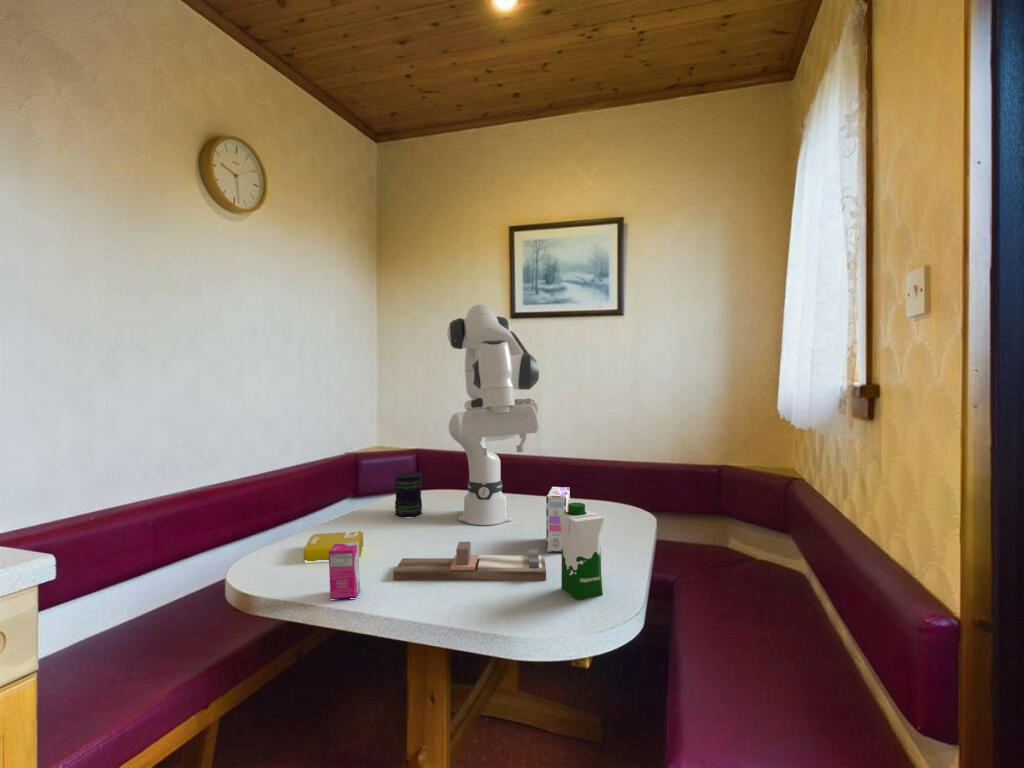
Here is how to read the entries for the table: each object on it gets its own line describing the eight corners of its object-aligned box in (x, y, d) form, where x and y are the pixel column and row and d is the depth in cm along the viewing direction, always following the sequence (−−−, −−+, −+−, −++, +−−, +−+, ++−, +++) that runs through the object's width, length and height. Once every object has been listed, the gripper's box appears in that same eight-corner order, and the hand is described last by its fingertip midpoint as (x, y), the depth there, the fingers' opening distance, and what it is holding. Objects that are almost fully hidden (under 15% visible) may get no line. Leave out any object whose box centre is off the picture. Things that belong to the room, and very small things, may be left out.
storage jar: (419, 518, 188) (418, 476, 188) (392, 518, 188) (391, 477, 188) (424, 511, 198) (423, 472, 198) (398, 511, 198) (398, 472, 198)
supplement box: (335, 590, 123) (334, 542, 123) (360, 589, 124) (360, 541, 124) (328, 601, 118) (328, 550, 118) (355, 599, 118) (355, 549, 118)
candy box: (566, 553, 148) (566, 496, 148) (545, 552, 150) (545, 495, 149) (570, 539, 162) (570, 486, 162) (551, 538, 163) (551, 485, 163)
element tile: (311, 548, 156) (311, 532, 156) (363, 544, 159) (363, 529, 159) (302, 565, 142) (302, 548, 141) (359, 561, 145) (359, 544, 145)
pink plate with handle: (455, 557, 139) (455, 539, 139) (477, 557, 139) (477, 539, 139) (450, 570, 130) (450, 551, 130) (474, 570, 130) (474, 551, 130)
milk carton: (587, 582, 128) (587, 500, 127) (608, 596, 119) (608, 508, 119) (556, 588, 124) (555, 504, 124) (575, 602, 116) (574, 513, 116)
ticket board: (402, 565, 140) (402, 548, 140) (544, 565, 139) (544, 548, 139) (393, 580, 130) (393, 561, 130) (546, 580, 129) (546, 561, 129)
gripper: (534, 398, 141) (538, 449, 140) (458, 403, 138) (462, 456, 137) (539, 397, 135) (543, 450, 134) (460, 402, 132) (464, 457, 131)
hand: (502, 453), depth 135 cm, fingers open, 8 cm apart
